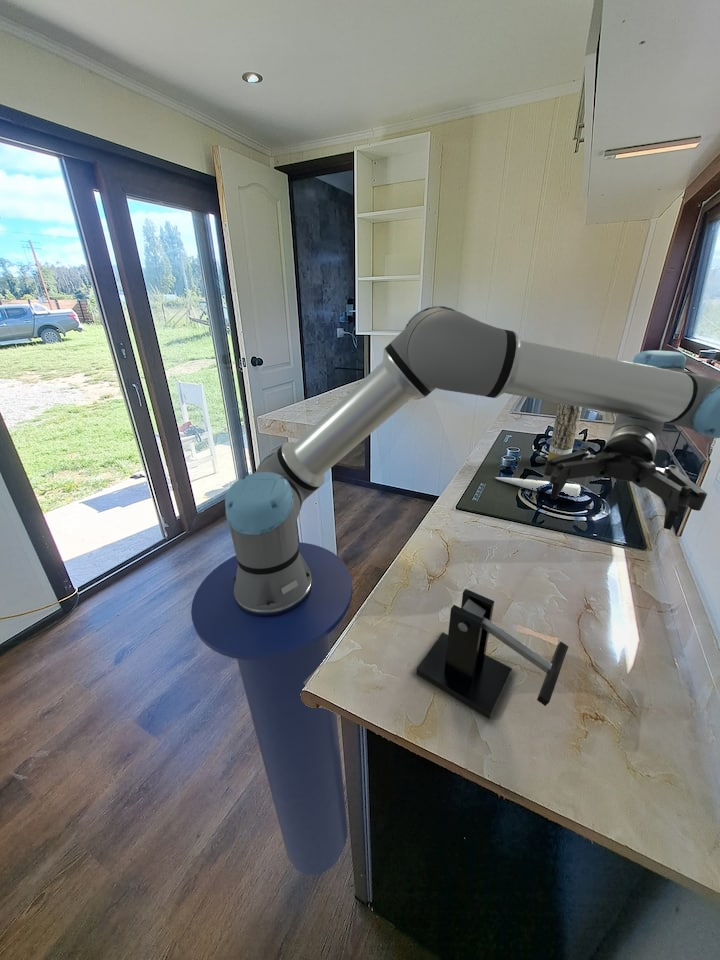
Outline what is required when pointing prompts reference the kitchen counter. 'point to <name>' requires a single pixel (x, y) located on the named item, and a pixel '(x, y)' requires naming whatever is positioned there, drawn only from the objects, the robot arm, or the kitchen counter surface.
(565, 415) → the brown bark cylinder
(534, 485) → the unicorn horn
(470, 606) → the lever
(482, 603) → the bracket
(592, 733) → the kitchen counter surface
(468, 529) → the kitchen counter surface
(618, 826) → the kitchen counter surface
